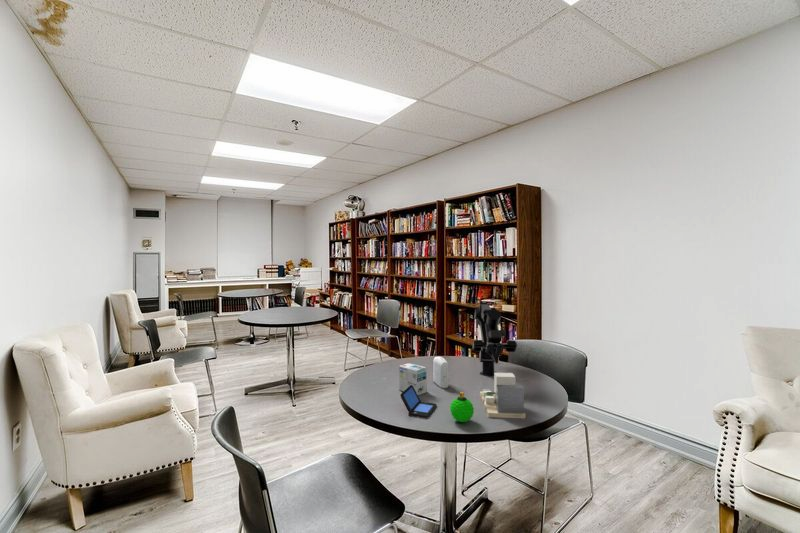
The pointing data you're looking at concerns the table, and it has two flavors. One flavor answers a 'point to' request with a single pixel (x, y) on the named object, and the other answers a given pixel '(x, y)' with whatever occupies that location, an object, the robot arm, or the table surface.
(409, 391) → the handheld game console
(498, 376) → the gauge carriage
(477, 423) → the table surface
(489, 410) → the base
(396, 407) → the table surface
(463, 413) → the ornament
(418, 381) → the light bulb box
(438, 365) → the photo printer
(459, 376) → the table surface
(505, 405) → the grey square block
